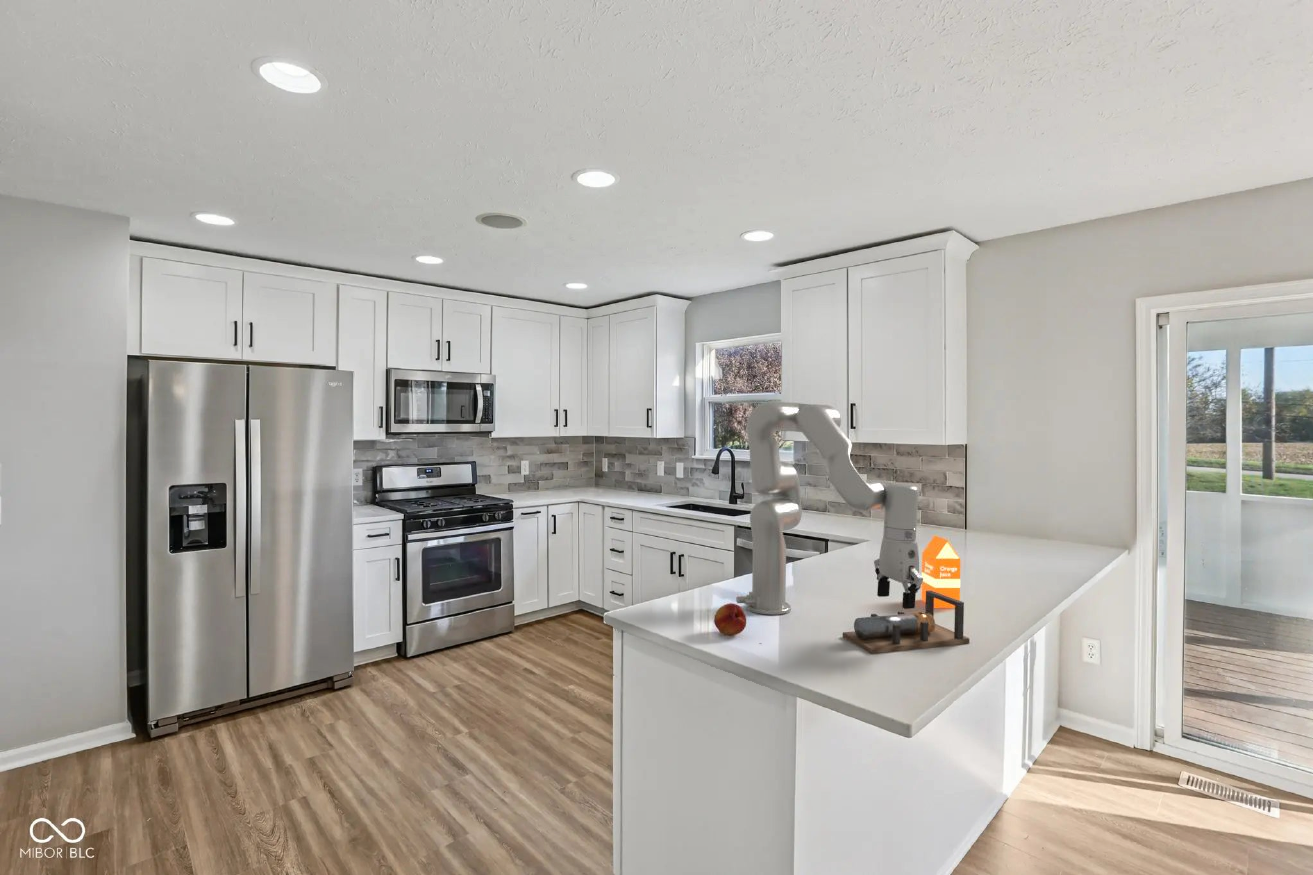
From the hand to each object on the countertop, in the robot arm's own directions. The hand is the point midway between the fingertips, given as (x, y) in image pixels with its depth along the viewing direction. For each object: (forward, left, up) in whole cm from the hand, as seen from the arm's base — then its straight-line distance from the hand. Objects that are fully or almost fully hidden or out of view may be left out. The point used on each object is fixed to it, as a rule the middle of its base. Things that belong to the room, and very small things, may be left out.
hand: (895, 602), depth 157 cm
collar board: (+2, -1, -10) cm, 10 cm away
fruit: (-39, +14, -10) cm, 42 cm away
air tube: (0, 0, -8) cm, 8 cm away
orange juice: (+34, +24, -10) cm, 43 cm away
